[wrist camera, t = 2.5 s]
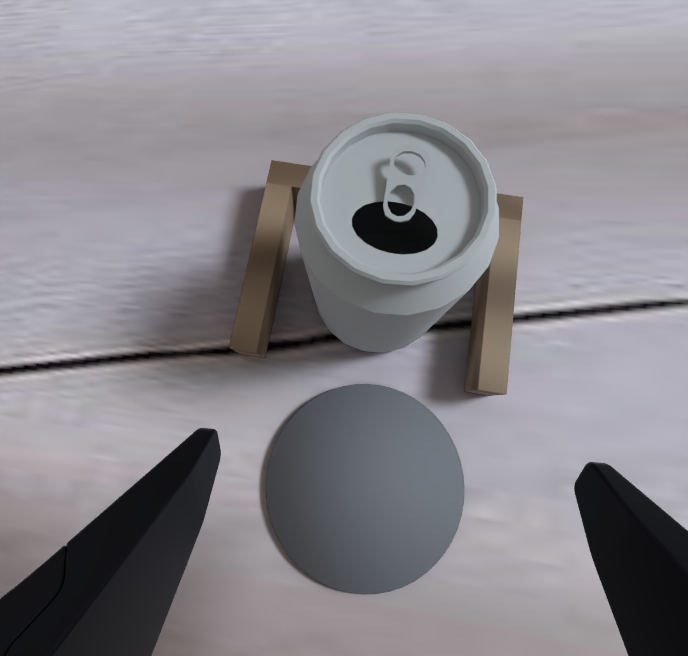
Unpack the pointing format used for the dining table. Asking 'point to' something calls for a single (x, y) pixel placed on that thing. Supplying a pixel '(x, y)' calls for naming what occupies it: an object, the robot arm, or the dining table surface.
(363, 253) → the can
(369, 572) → the pad
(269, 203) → the wooden frame
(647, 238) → the dining table surface
